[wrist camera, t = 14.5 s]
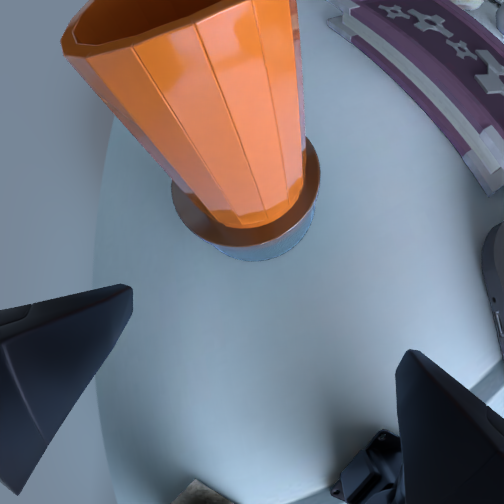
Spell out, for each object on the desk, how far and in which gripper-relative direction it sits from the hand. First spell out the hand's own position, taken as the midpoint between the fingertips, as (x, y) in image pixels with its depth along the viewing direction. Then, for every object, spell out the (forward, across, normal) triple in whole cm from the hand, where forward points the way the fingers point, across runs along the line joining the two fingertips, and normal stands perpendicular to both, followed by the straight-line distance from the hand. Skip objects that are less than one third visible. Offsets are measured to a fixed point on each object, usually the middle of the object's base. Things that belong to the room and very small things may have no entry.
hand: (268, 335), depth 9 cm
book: (+23, -14, -18) cm, 33 cm away
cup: (+11, +3, -3) cm, 12 cm away
